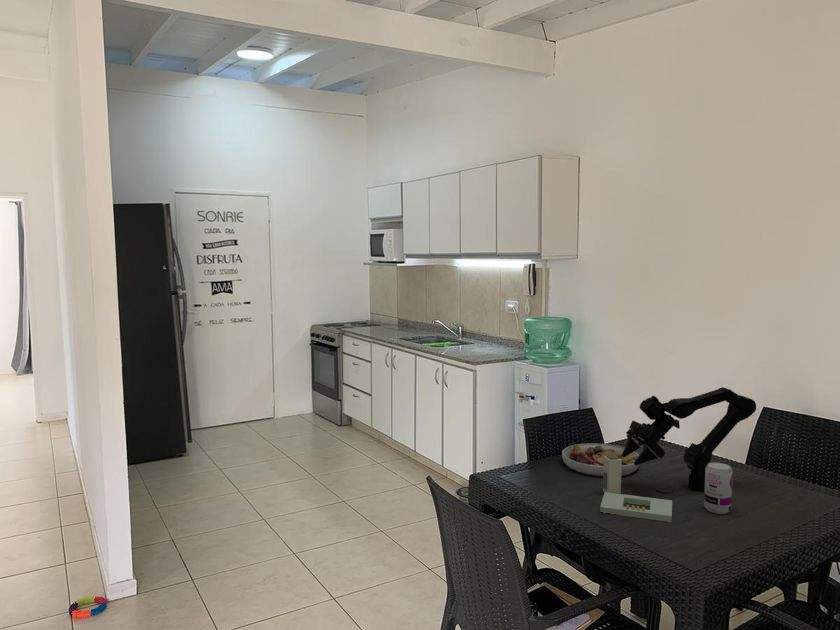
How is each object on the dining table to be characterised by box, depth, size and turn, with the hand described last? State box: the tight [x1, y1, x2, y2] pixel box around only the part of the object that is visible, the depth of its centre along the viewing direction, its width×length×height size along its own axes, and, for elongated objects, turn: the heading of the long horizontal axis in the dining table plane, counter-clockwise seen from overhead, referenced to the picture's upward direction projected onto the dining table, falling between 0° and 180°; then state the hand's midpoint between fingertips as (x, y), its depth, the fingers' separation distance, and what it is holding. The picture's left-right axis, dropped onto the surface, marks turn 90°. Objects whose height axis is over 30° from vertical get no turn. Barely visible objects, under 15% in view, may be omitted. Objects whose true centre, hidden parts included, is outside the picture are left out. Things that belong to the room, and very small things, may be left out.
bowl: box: [561, 442, 641, 477], centre depth 268 cm, size 30×30×8 cm
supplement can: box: [703, 462, 734, 515], centre depth 223 cm, size 8×8×15 cm
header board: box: [599, 492, 673, 523], centre depth 225 cm, size 22×14×3 cm, turn 69°
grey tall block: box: [602, 455, 622, 494], centre depth 238 cm, size 5×4×14 cm
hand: (628, 460), depth 238 cm, fingers open, 9 cm apart
